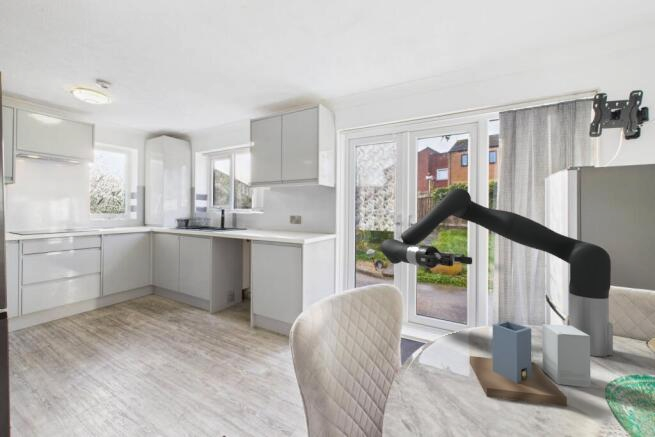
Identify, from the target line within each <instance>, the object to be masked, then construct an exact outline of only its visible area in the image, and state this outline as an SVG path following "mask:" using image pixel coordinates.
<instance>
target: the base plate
mask: <svg viewBox="0 0 655 437" xmlns="http://www.w3.org/2000/svg"><path fill="white" fill-rule="evenodd" d="M469 364H470V367H471V368H472V370H473V372H474V374H475V376H476V379H477V380H478V382H479V384H480V386H481V388H482V390H483V392H484V394H485V396H486V397H488V398H489V397H490V398H496V399H504V400H512V401H520V402H530V403H536V404H545V405H551V406H559V407H560V406H561V407H568V396H566V394H564V393H563V392H562V390H560V389H559V387H558V386H557V385H556V384H555V383H554V382H553V381H552V380H551V379H550V378H549V377H548V375H547V374H545V372H544V371H543V370H541V369H540V368H539V366H538V365H536V363H535V362H533V361H531V377H530V378H528V379H527V378H526V380H525V381H524V380H521V382H518V383H516V382H514V381H512V380H510V379H508V378H506V377H504V376H501V375H499V374H497V373H495V372H493V357H492V358H491V357H484V356H473V355H469Z"/></svg>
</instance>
